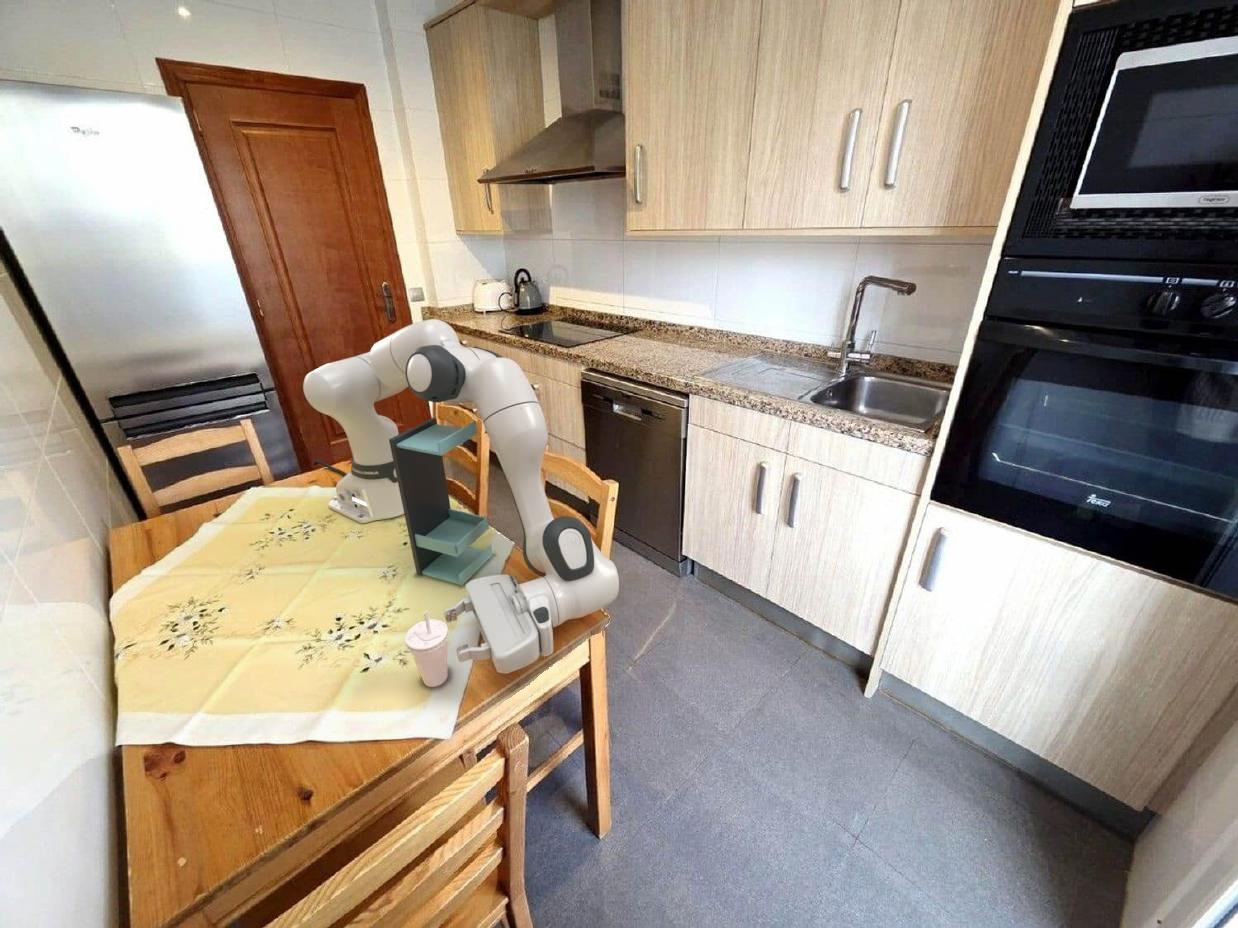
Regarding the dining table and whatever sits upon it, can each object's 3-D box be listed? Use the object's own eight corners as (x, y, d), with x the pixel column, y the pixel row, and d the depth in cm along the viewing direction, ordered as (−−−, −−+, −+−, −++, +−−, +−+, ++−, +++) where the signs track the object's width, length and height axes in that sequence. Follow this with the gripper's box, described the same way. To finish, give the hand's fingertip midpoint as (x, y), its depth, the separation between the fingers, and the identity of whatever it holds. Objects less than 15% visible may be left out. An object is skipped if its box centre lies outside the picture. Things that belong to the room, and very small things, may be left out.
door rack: (416, 574, 105) (387, 434, 91) (452, 543, 116) (431, 413, 101) (460, 587, 102) (437, 443, 88) (493, 554, 112) (477, 420, 98)
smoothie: (443, 697, 79) (430, 630, 73) (406, 690, 80) (390, 623, 74) (463, 665, 84) (451, 600, 78) (428, 659, 85) (414, 594, 79)
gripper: (512, 559, 93) (435, 582, 87) (554, 631, 77) (463, 665, 71) (515, 586, 96) (440, 609, 90) (556, 661, 80) (468, 696, 74)
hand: (450, 635), depth 80 cm, fingers open, 8 cm apart
